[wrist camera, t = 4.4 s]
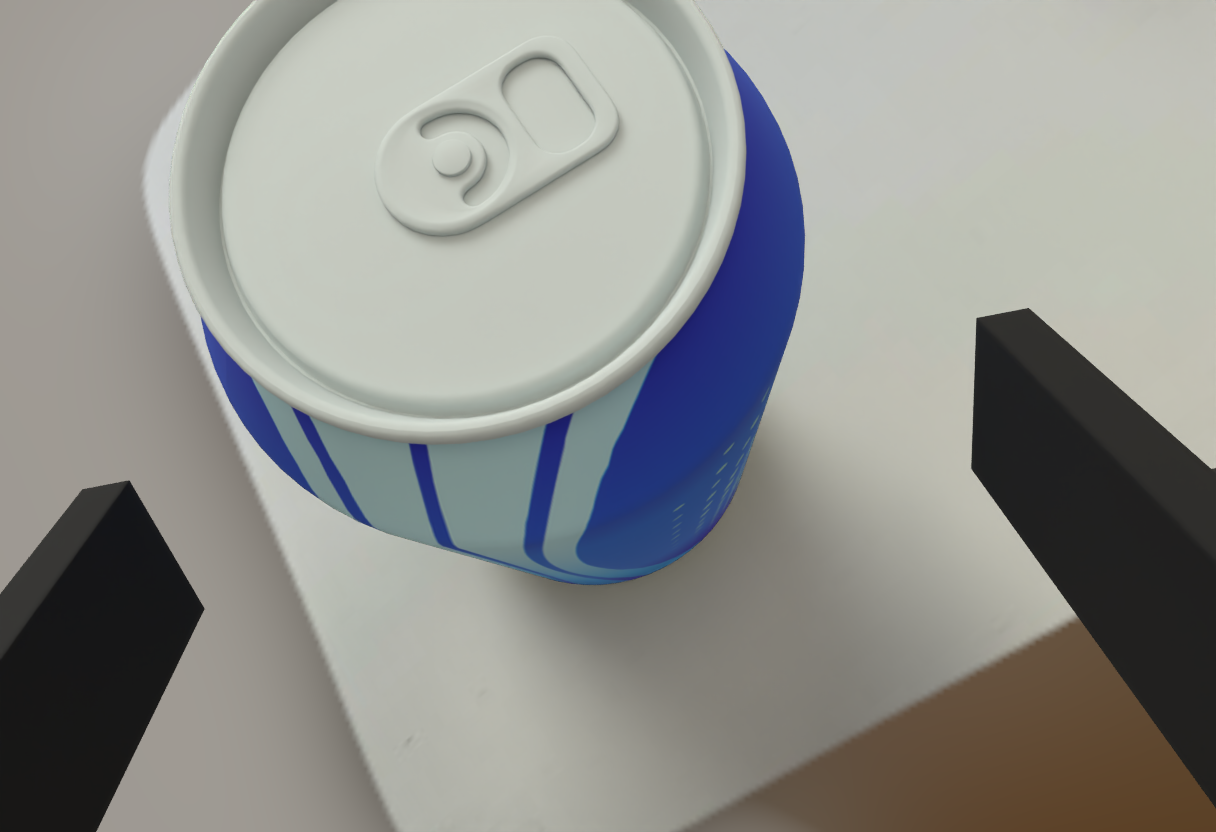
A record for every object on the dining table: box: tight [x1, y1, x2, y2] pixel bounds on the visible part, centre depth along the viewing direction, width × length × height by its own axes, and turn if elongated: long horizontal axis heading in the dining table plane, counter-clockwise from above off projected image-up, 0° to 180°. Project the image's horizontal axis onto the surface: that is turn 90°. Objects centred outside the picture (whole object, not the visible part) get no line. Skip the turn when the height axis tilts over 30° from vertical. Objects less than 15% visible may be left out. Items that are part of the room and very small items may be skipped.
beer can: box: [169, 0, 805, 585], centre depth 17 cm, size 8×8×16 cm
